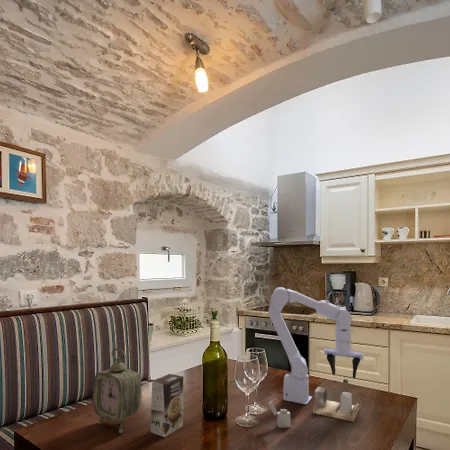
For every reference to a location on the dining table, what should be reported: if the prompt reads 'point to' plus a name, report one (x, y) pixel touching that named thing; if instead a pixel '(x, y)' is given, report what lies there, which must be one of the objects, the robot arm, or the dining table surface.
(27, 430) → the dining table surface
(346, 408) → the white rectangular box
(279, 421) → the lighter
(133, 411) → the tabletop clock
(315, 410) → the cream tray
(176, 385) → the coffee box
